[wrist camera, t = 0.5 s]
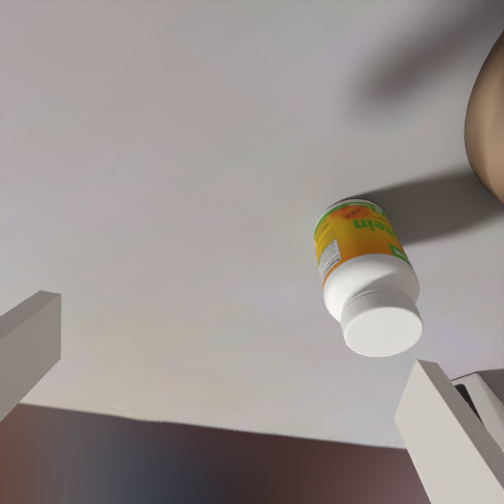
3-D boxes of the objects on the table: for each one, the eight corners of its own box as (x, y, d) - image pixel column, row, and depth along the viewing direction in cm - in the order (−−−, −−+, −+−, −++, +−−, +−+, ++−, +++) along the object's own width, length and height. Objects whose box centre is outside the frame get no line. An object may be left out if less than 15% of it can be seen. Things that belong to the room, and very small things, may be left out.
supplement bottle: (403, 211, 25) (463, 314, 17) (363, 265, 28) (398, 374, 20) (334, 186, 24) (365, 284, 16) (301, 245, 27) (313, 351, 19)
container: (404, 395, 39) (453, 544, 28) (476, 370, 35) (560, 529, 25) (434, 423, 42) (487, 565, 32) (502, 402, 39) (586, 554, 29)
